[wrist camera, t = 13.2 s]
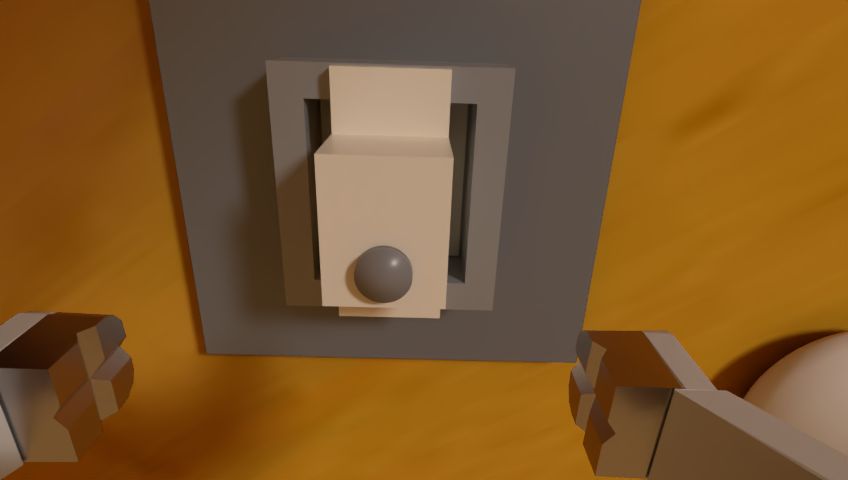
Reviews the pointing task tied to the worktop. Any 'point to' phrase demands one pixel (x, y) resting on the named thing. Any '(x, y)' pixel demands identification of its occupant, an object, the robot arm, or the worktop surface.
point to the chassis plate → (472, 169)
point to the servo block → (386, 191)
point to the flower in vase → (809, 390)
